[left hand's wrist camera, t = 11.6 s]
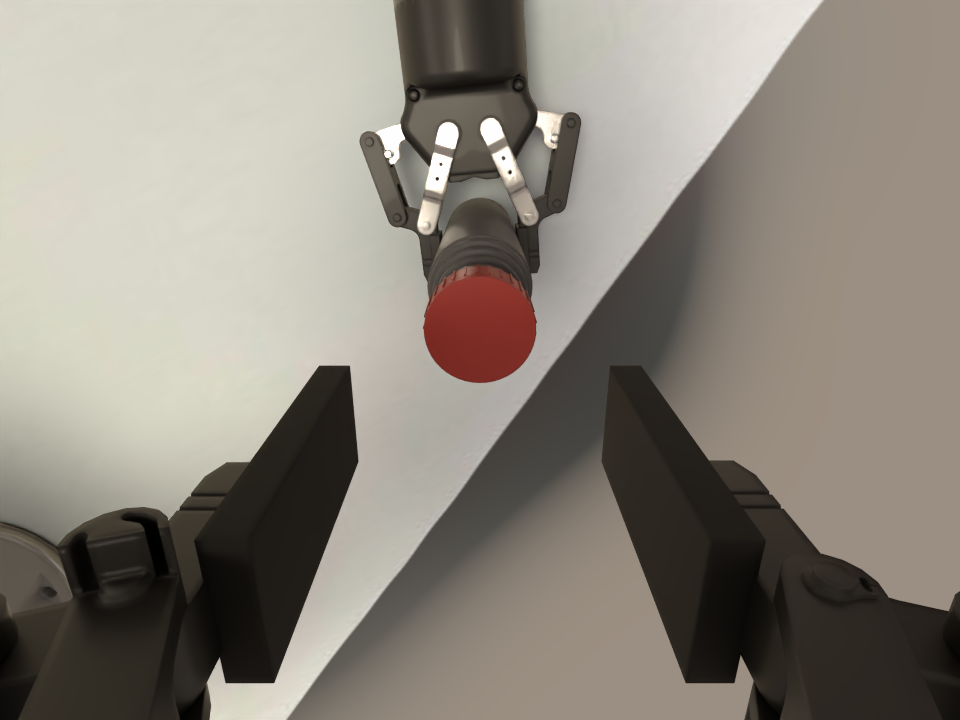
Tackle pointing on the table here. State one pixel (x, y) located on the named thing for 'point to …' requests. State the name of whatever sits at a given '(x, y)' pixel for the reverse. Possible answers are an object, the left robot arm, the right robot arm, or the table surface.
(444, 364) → the cap
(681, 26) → the table surface
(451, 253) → the bottle
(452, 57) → the right robot arm
